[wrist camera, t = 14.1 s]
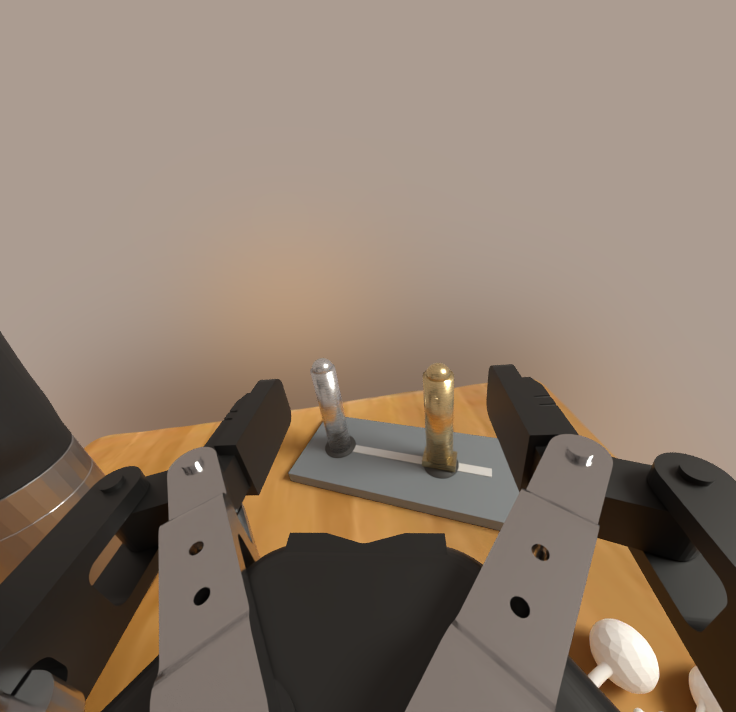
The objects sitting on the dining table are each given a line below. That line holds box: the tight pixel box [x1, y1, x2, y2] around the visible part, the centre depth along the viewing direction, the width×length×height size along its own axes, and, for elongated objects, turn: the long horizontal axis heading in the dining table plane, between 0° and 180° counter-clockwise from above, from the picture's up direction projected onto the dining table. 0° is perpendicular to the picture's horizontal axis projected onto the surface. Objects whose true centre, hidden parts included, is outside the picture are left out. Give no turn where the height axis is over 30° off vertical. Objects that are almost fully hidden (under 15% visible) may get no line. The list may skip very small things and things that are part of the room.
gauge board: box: [288, 417, 519, 531], centre depth 40 cm, size 28×12×2 cm, turn 71°
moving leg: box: [422, 363, 457, 472], centre depth 35 cm, size 4×3×14 cm
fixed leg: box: [311, 358, 351, 454], centre depth 40 cm, size 3×3×14 cm
